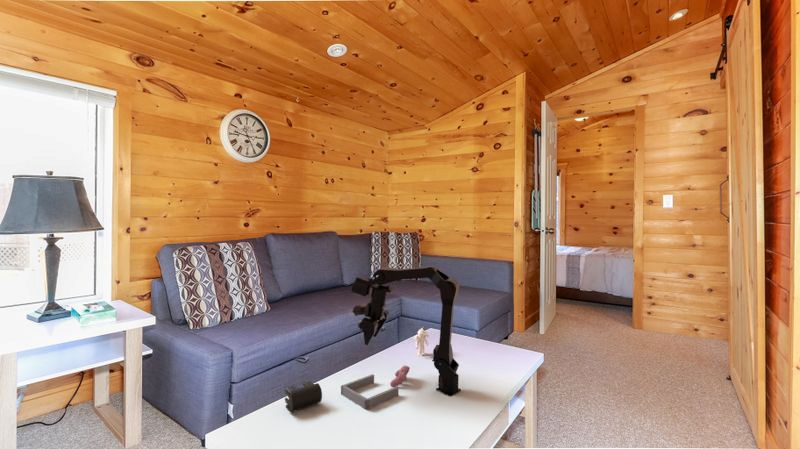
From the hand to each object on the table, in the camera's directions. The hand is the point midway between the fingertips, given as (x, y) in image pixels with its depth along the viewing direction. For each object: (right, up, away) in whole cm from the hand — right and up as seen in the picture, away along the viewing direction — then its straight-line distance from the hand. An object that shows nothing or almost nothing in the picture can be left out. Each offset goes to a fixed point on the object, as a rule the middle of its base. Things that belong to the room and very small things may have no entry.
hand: (370, 340), depth 145 cm
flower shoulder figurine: (+21, -14, +26) cm, 36 cm away
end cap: (-20, -15, -22) cm, 33 cm away
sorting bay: (+1, -15, -13) cm, 20 cm away
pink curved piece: (+11, -15, -2) cm, 19 cm away
